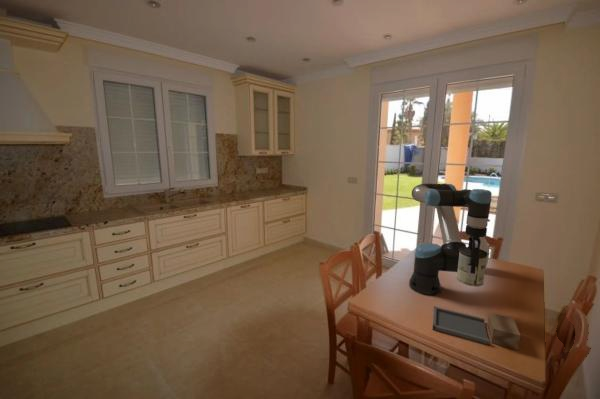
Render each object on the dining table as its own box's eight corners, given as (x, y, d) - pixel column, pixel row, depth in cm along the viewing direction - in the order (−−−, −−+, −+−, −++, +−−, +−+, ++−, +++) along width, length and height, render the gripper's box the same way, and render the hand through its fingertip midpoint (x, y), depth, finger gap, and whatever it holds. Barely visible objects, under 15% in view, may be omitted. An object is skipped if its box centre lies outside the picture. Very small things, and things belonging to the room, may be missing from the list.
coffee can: (459, 273, 126) (462, 244, 123) (485, 280, 119) (489, 250, 116) (453, 281, 118) (457, 251, 116) (481, 289, 112) (485, 258, 109)
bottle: (462, 269, 161) (467, 228, 156) (468, 263, 169) (473, 224, 164) (484, 275, 153) (489, 233, 148) (489, 269, 160) (494, 228, 155)
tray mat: (432, 329, 109) (432, 325, 108) (433, 309, 122) (434, 306, 121) (488, 345, 100) (489, 341, 100) (483, 322, 113) (484, 318, 113)
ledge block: (491, 342, 101) (493, 328, 100) (487, 325, 111) (489, 312, 110) (517, 350, 97) (520, 335, 96) (511, 331, 107) (513, 318, 106)
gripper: (491, 235, 102) (483, 288, 107) (483, 220, 122) (477, 265, 126) (468, 232, 106) (461, 283, 110) (464, 218, 125) (459, 262, 130)
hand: (470, 274), depth 118 cm, fingers closed on coffee can, 10 cm apart
